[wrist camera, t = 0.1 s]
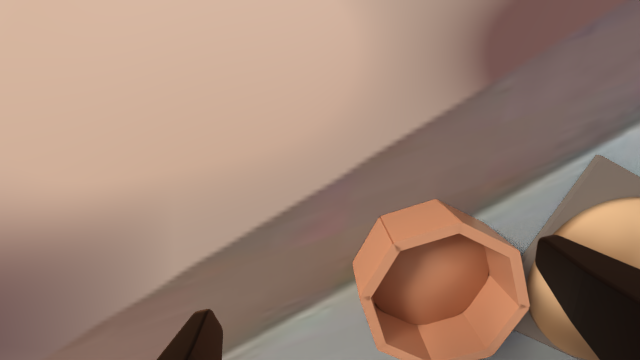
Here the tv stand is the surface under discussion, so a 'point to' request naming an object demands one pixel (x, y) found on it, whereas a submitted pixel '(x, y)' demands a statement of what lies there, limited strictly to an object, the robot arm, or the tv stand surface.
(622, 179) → the rubber mat
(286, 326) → the tv stand surface
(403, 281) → the terracotta bowl
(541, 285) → the oak lid
